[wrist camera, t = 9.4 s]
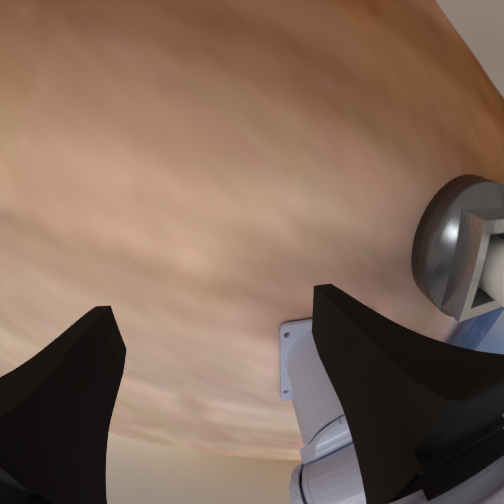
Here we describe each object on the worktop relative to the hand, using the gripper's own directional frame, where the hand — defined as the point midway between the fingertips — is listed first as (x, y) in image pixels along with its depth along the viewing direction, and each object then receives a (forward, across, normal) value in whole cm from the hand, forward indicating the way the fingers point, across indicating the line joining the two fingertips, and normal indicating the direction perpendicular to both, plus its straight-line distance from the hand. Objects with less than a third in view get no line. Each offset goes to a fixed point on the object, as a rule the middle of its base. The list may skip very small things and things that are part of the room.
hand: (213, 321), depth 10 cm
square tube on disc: (+10, -21, +3) cm, 23 cm away
